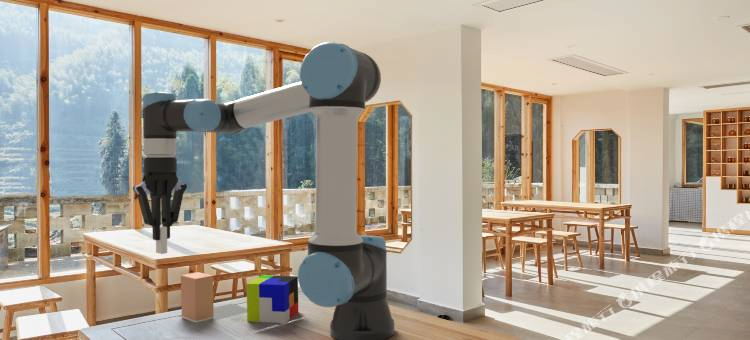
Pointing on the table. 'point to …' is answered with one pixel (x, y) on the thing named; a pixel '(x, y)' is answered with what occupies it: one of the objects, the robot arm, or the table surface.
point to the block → (197, 297)
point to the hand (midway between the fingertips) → (161, 252)
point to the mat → (224, 312)
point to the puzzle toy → (272, 299)
